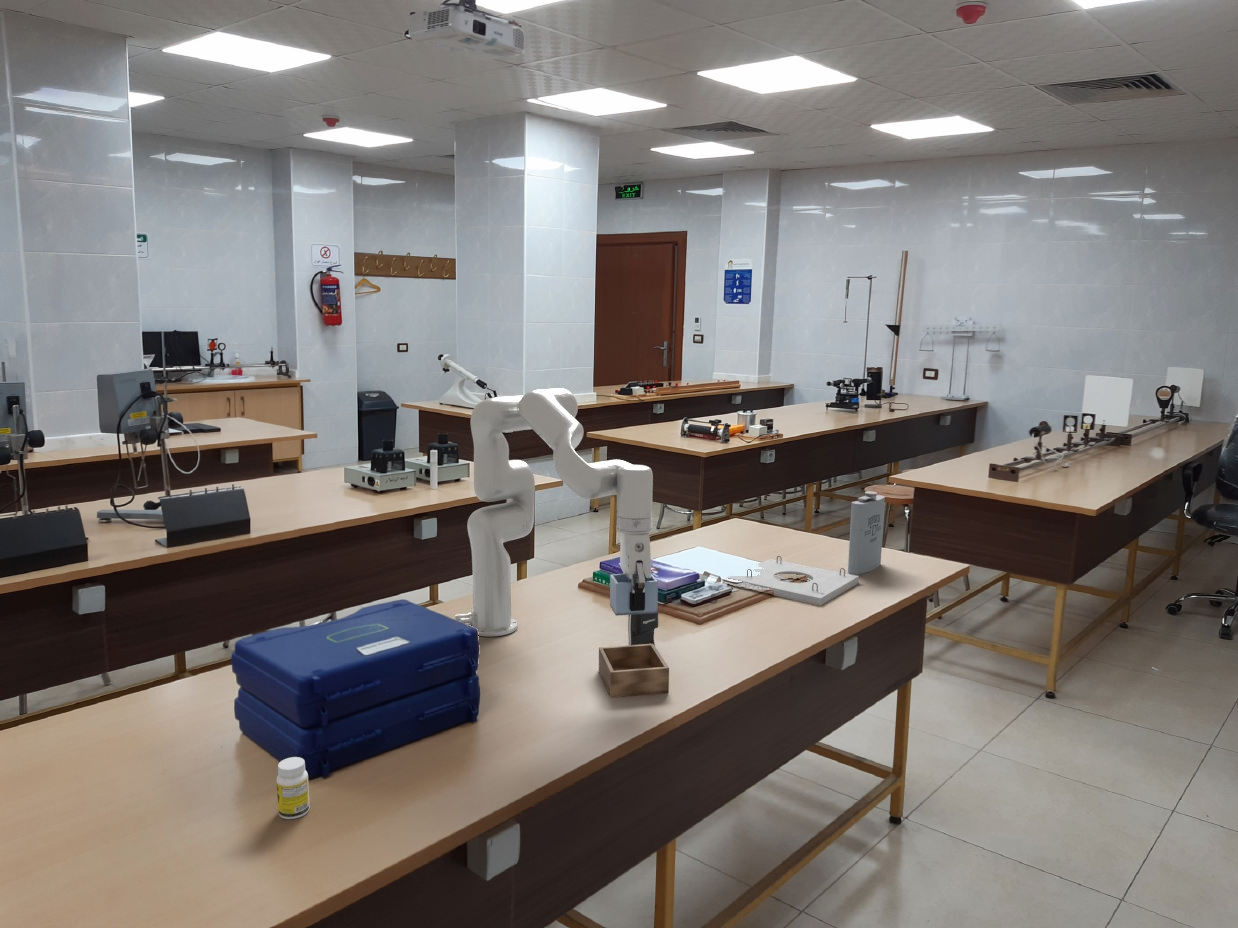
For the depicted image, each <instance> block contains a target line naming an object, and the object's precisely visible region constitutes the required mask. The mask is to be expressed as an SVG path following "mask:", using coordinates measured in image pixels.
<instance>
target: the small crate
mask: <svg viewBox="0 0 1238 928" xmlns="http://www.w3.org/2000/svg"><path fill="white" fill-rule="evenodd" d="M644 577H645V576H644ZM633 578H637V575H635V576H633ZM609 582H610V583H609V606H610V608H611V610H612V611H613V613H614V615H615V616H629V615H634V614H650V613H657V611H658V608H659V607H658V599H659V597H658V595H659V587H658V586H659V581H658V579H657V578H656V576H654V575H653V574H652V573H651V578H650V579H647V578H646V577H645V610H643V611H630V592H631V582H630V579H628V578H627V576H626V575H625V574H623V573H617V574H616V573H615V574H610V575H609ZM636 583H637V581H634V587H635V584H636Z"/></svg>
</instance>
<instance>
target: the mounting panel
mask: <svg viewBox="0 0 1238 928" xmlns="http://www.w3.org/2000/svg"><path fill="white" fill-rule="evenodd" d="M779 559H780V560H779ZM758 565H759V566H758V567H762V569H754V570H755V572H760V575H759V574H758V575H757V576H752V570H751V569H748V568H747V569H748V570H750V571H751V576H748V570H747V576H732V575H730V576H728V577H727V578H728V579H733V580H738V581H742V582H745V583H749V584H751V585H754V586H760V587H764V588H769V589H772V590H774V595H773V596H776V597H779V598H784V599H789V600H793V601H798V602H801V603H807V604H811V605H815V606H819V607H820V606H822V605H824V604H826V603H827V602H829V601H831V600H832V599H834V598H836V597H837V596H839V595H841V594H843V593H844V592H846V591H847V590H850V589H851V588H852V587H855V586H857V585H858V584H859V581H860V579H859V578H860V576H859V575H854V574H850V573H846V569H845V568H844V567H841V568H840V569H839V571H835V570H830V569H825V568H819V567H814V566H809V565H803V564H799V563H794V562H788V561H784V560H782V556H781V555H777V556H776V559H774V558H773V559H772V558H767V559H766V560H764V561H762V562H759V563H758ZM763 568H764V569H763ZM754 570H753V571H754ZM842 570H843V572H842ZM777 574H796V575H805V576H806V577H808V578H807V579H808V580H807V582H805V581H803V582H790V581H783V580H778V579H776V578H774V575H777Z"/></svg>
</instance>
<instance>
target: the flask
mask: <svg viewBox="0 0 1238 928" xmlns="http://www.w3.org/2000/svg"><path fill="white" fill-rule="evenodd" d="M885 499H886V497H885V495H880V494H879V495H878V492H877V491H871V490H870V491H868V490H867V491H865V492H864V495H862V496H861V497H857V500H856V501H855V500H854V501H851V508H850V509H851V511H850V525H849V526H850V527H849V529H850V530H849V542H848V543H849V544H848V563H847V574H851V575H856V576H859V575H862V574H865V573H868V572H871V571H873V570H875V569H877V568H879V567H880V566H881V562H882V546H883V533H884V531H883V529H884V517H885V516H884V515H885Z"/></svg>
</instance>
